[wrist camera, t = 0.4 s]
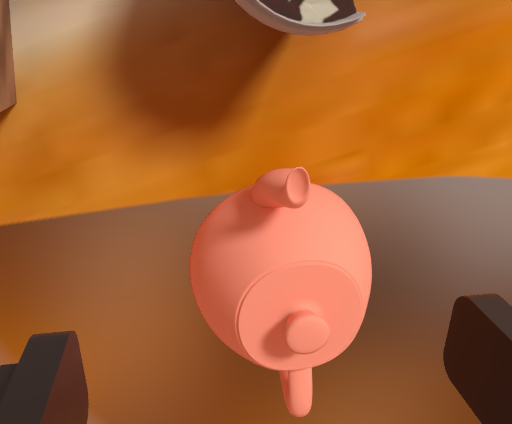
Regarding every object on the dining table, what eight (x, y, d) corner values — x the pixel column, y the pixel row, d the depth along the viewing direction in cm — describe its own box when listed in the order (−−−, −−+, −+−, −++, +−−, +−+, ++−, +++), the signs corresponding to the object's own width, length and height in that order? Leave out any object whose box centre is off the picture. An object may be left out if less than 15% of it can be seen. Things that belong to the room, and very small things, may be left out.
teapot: (170, 131, 36) (167, 184, 24) (355, 111, 37) (431, 153, 26) (202, 352, 45) (211, 464, 33) (350, 328, 46) (405, 427, 35)
